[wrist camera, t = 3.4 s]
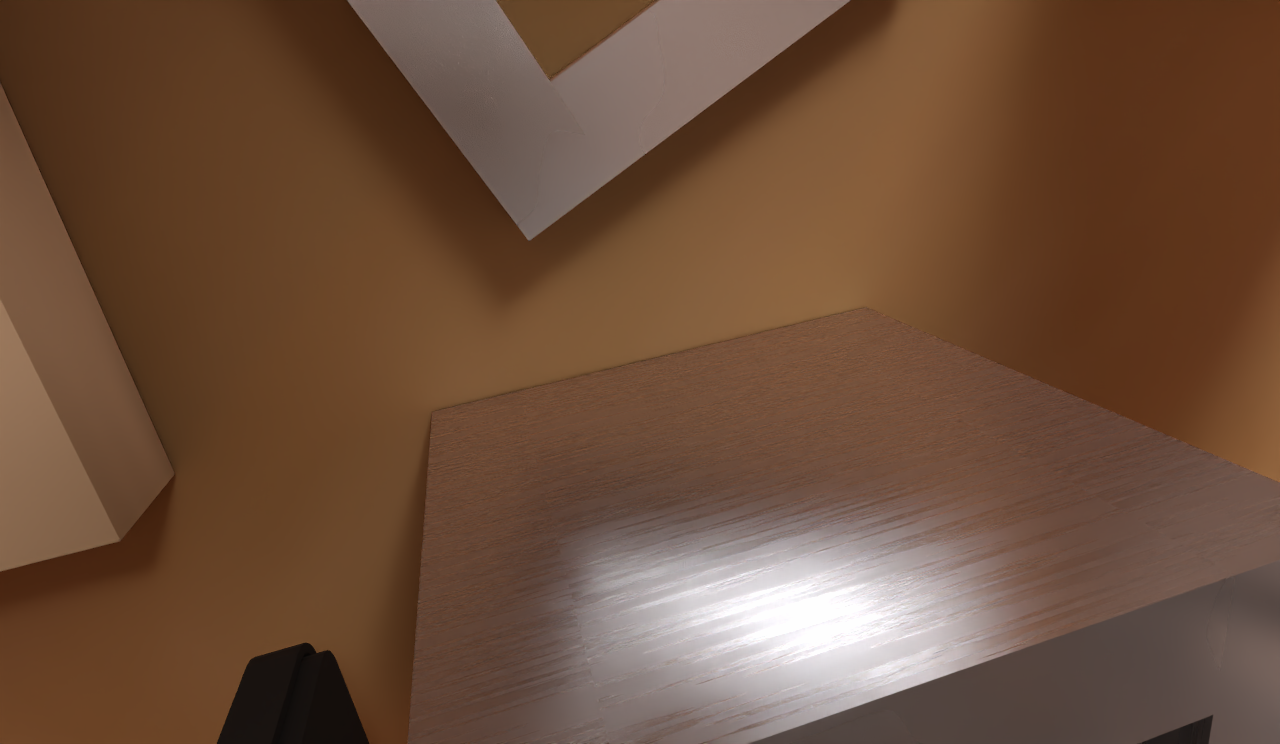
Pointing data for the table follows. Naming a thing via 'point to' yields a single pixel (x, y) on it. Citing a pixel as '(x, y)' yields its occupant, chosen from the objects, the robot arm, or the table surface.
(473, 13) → the link
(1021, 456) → the link
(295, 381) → the table surface
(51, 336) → the base
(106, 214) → the table surface
